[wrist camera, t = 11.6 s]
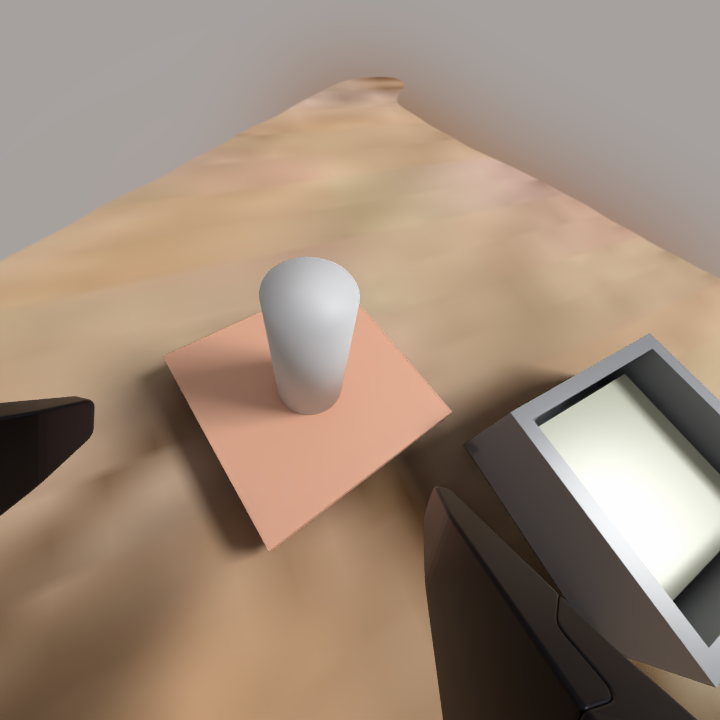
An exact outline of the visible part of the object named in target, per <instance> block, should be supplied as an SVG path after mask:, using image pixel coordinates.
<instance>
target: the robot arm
mask: <svg viewBox="0 0 720 720" xmlns="http://www.w3.org/2000/svg"><path fill="white" fill-rule="evenodd" d="M93 429H94V403H93V402H92V401H91V400H89V399H85V398H81V397H76V396H72V397H61V398H50V399H39V400H28V401H17V402H6V403H0V516H1V515H2V514H3V513H4V512H6V511H7V510H8V509H10V508H11V507H12V506H13V505H15V504H16V503H17V502H18V501H20V500H21V499H22V498H24V497H25V496H26V495H27V494H29V493H30V492H31V491H32V490H33V489H35V488H36V487H37V486H38V485H39V484H41V483H42V482H43V481H44V480H45V479H46V478H47V477H48V476H49V475H51V474H52V473H53V472H54V471H55V470H56V469H57V468H58V467H59V466H60V465H61V464H62V463H63V462H65V461H66V460H67V459H68V458H69V457H70V456H71V455H72V454H73V453H74V452H75V451H76V450H77V449H79V448H80V447H81V446H82V445H83V444H84V443H85V442H86V441H87V440H88V439H89V438H90V436H91V435H92V433H93ZM423 527H424V570H425V586H426V595H427V602H428V610H429V617H430V625H431V633H432V640H433V648H434V655H435V663H436V670H437V678H438V685H439V693H440V700H441V708H442V715H443V720H697V719H696V718H695V717H693V716H692V715H691V714H690V713H689V712H688V711H687V710H685V709H684V708H683V707H682V706H681V705H680V704H679V703H677V702H676V701H675V700H674V699H673V698H672V697H671V696H669V695H668V694H667V693H666V692H665V691H664V690H663V689H662V688H660V687H659V686H658V685H657V684H656V683H655V682H654V681H652V680H651V679H650V678H649V677H648V676H647V675H646V674H644V673H643V672H642V671H641V670H640V669H639V668H638V667H636V666H635V665H634V664H633V663H632V662H631V661H630V660H629V659H628V658H626V657H625V656H624V655H623V654H622V653H621V652H620V651H619V650H617V649H616V648H615V647H614V646H613V645H612V644H611V643H610V642H608V641H607V640H606V639H605V638H604V637H603V636H602V635H601V634H600V633H599V632H598V631H597V630H596V629H594V628H593V627H592V626H591V625H590V624H589V623H588V622H587V621H586V620H585V619H584V618H583V617H582V616H581V615H580V614H579V613H577V612H576V611H575V610H574V609H573V608H572V607H571V606H570V605H569V604H568V603H567V602H566V601H565V600H564V599H563V598H562V597H559V595H558V593H557V592H556V591H555V590H554V589H553V588H552V587H551V586H550V585H549V584H547V583H546V582H545V581H544V580H543V579H542V578H541V577H540V576H539V575H538V574H537V573H536V572H535V571H534V570H533V569H532V568H531V567H530V566H529V565H528V564H527V563H526V562H525V561H524V560H523V559H522V558H521V557H520V556H519V555H518V554H517V553H515V552H514V551H513V550H512V549H511V548H510V547H509V546H508V545H507V544H506V543H505V542H504V541H503V540H502V539H501V538H500V537H499V536H498V535H497V534H496V533H495V532H494V531H493V530H492V529H491V528H490V527H489V526H488V525H487V524H486V523H484V522H483V521H482V520H481V519H480V518H479V517H478V516H477V515H476V514H475V513H474V512H473V511H472V510H471V509H470V508H469V507H468V506H467V505H466V504H465V503H464V502H463V501H462V500H461V499H460V498H459V497H458V496H457V495H456V494H455V493H453V492H452V491H451V490H450V489H446V488H442V487H437V486H436V487H435V488H434V489H433V490H432V493H431V496H430V499H429V502H428V505H427V508H426V510H425V514H424V521H423Z"/></svg>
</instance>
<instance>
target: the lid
mask: <svg viewBox="0 0 720 720" xmlns="http://www.w3.org/2000/svg"><path fill="white" fill-rule="evenodd" d="M259 299H260V304H261V309H262V311H261V312H259V313H257V314H255V315H253V316H250V317H248V318H246V319H244V320H242V321H239V322H237V323H235V324H233V325H231V326H228V327H226V328H224V329H222V330H220V331H217V332H215V333H213V334H211V335H209V336H206V337H204V338H202V339H200V340H198V341H195V342H193V343H191V344H189V345H187V346H184V347H182V348H180V349H178V350H176V351H173V352H171V353H169V354H167V355H165V356H163V358H164V360H165V362H166V363H167V365H168V367H169V369H170V371H171V373H172V374H173V376H174V378H175V380H176V382H177V384H178V385H179V387H180V389H181V391H182V393H183V395H184V396H185V398H186V400H187V402H188V404H189V406H190V407H191V409H192V411H193V413H194V415H195V417H196V419H197V420H198V422H199V424H200V426H201V428H202V430H203V431H204V433H205V435H206V437H207V439H208V441H209V442H210V444H211V446H212V448H213V450H214V452H215V453H216V455H217V457H218V459H219V461H220V463H221V464H222V466H223V468H224V470H225V472H226V474H227V475H228V477H229V479H230V481H231V483H232V485H233V486H234V488H235V490H236V492H237V494H238V496H239V497H240V499H241V501H242V503H243V505H244V507H245V509H246V510H247V512H248V514H249V516H250V518H251V520H252V521H253V523H254V525H255V527H256V529H257V531H258V532H259V534H260V536H261V538H262V540H263V542H264V543H265V545H266V547H267V549H268V551H272V550H274V549H275V548H276V547H278V546H279V545H280V544H282V543H283V542H284V541H286V540H287V539H288V538H289V537H291V536H292V535H293V534H295V533H296V532H297V531H299V530H300V529H301V528H303V527H304V526H305V525H306V524H308V523H309V522H310V521H312V520H313V519H314V518H316V517H317V516H318V515H320V514H321V513H322V512H323V511H325V510H326V509H327V508H329V507H330V506H331V505H333V504H334V503H335V502H337V501H338V500H339V499H341V498H342V497H343V496H344V495H346V494H347V493H348V492H350V491H351V490H352V489H354V488H355V487H356V486H358V485H359V484H360V483H361V482H363V481H364V480H365V479H367V478H368V477H369V476H371V475H372V474H373V473H375V472H376V471H377V470H378V469H380V468H381V467H382V466H384V465H385V464H386V463H388V462H389V461H390V460H392V459H393V458H394V457H396V456H397V455H398V454H399V453H401V452H402V451H403V450H405V449H406V448H407V447H409V446H410V445H411V444H413V443H414V442H415V441H416V440H418V439H419V438H420V437H422V436H423V435H424V434H426V433H427V432H428V431H430V430H431V429H432V428H433V427H435V426H436V425H437V424H439V423H440V422H441V421H443V420H444V419H445V418H446V417H447V416H448V415H449V414H450V413H451V412H452V411H451V410H450V409H449V408H448V406H447V405H446V404H445V403H444V402H443V401H442V399H441V398H440V397H439V396H438V395H437V394H436V393H435V391H434V390H433V389H432V388H431V387H430V386H429V384H428V383H427V382H426V381H425V380H424V379H423V377H422V376H421V375H420V374H419V373H418V372H417V370H416V369H415V368H414V367H413V366H412V365H411V363H410V362H409V361H408V360H407V359H406V358H405V356H404V355H403V354H402V353H401V352H400V351H399V350H398V348H397V347H396V346H395V345H394V344H393V343H392V341H391V340H390V339H389V338H388V337H387V336H386V334H385V333H384V332H383V331H382V330H381V329H380V327H379V326H378V325H377V324H376V323H375V322H374V320H373V319H372V318H371V317H370V316H369V315H368V313H367V312H366V311H365V310H364V309H363V308H362V306H361V305H360V304H359V301H360V293H359V289H358V286H357V283H356V282H355V280H354V278H353V277H352V276H351V274H350V273H349V272H347V271H346V270H345V269H344V268H343V267H341V266H339V265H338V264H336V263H334V262H332V261H329V260H326V259H322V258H316V257H299V258H293V259H289V260H287V261H284V262H282V263H280V264H278V265H276V266H275V267H274V268H272V269H271V270H270V271H269V272H268V273H267V274H266V276H265V277H264V279H263V281H262V283H261V286H260V290H259Z"/></svg>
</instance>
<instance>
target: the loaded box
mask: <svg viewBox="0 0 720 720" xmlns="http://www.w3.org/2000/svg"><path fill="white" fill-rule="evenodd" d="M464 445H465V447H466V448H467V450H468V452H469V453H470V455H471V456H472V458H473V459H474V461H475V462H476V464H477V465H478V467H479V468H480V470H481V471H482V473H483V474H484V476H485V477H486V479H487V480H488V482H489V483H490V485H491V486H492V488H493V489H494V491H495V493H496V494H497V496H498V497H499V499H500V500H501V502H502V503H503V505H504V506H505V508H506V509H507V511H508V512H509V514H510V515H511V517H512V518H513V520H514V521H515V523H516V524H517V526H518V527H519V529H520V530H521V532H522V533H523V535H524V537H525V538H526V540H527V541H528V543H529V544H530V546H531V547H532V549H533V550H534V552H535V553H536V555H537V556H538V558H539V559H540V561H541V562H542V564H543V565H544V567H545V568H546V570H547V571H548V573H549V574H550V576H551V578H552V579H553V581H554V582H555V584H556V585H557V587H558V588H559V590H560V591H561V593H562V594H563V596H564V597H565V599H566V600H567V602H568V603H569V605H570V606H571V607H572V608H573V609H574V610H575V611H576V612H577V613H579V614H580V615H581V616H582V617H583V618H584V619H585V620H586V621H587V622H588V623H589V624H590V625H591V626H592V627H593V628H594V629H596V630H597V631H598V632H599V633H600V634H601V635H602V636H603V637H604V638H605V639H606V640H607V641H608V642H610V643H611V644H612V645H613V646H614V647H615V648H616V649H617V650H619V651H620V652H621V653H622V654H623V655H624V656H625V657H627V658H630V659H633V660H636V661H639V662H642V663H645V664H648V665H651V666H654V667H657V668H660V669H663V670H665V671H668V672H671V673H674V674H677V675H680V676H683V677H686V678H689V679H692V680H695V681H698V682H701V683H704V684H706V685H709V686H712V687H715V688H717V686H718V685H719V684H720V401H719V400H718V399H717V398H716V397H715V396H714V395H713V394H712V393H711V392H710V391H709V390H708V389H707V388H706V387H705V386H704V385H703V384H702V383H701V382H700V381H699V380H698V379H697V378H695V377H694V376H693V375H692V374H691V373H690V372H689V371H688V370H687V369H686V368H685V367H684V366H683V365H682V364H681V363H680V362H679V361H678V360H677V359H676V358H675V357H674V356H673V355H672V354H671V353H670V352H669V351H668V350H667V349H665V348H664V347H663V346H662V345H661V344H660V343H659V342H658V341H657V340H656V339H655V338H654V337H653V336H652V335H651V334H650V333H649V334H647V335H646V336H644V337H642V338H640V339H639V340H637V341H635V342H633V343H632V344H630V345H628V346H626V347H625V348H623V349H621V350H619V351H618V352H616V353H614V354H612V355H610V356H609V357H607V358H605V359H603V360H602V361H600V362H598V363H596V364H595V365H593V366H591V367H589V368H588V369H586V370H584V371H582V372H581V373H579V374H577V375H575V376H573V377H572V378H570V379H568V380H566V381H565V382H563V383H561V384H559V385H558V386H556V387H554V388H552V389H551V390H549V391H547V392H545V393H543V394H542V395H540V396H538V397H536V398H535V399H533V400H531V401H529V402H528V403H526V404H524V405H522V406H521V407H519V408H517V409H515V410H514V411H512V412H510V413H509V414H507V415H506V416H504V417H503V418H501V419H500V420H498V421H497V422H495V423H494V424H492V425H491V426H489V427H488V428H487V429H485V430H484V431H482V432H481V433H479V434H478V435H476V436H475V437H473V438H472V439H470V440H469V441H467V442H466V443H464Z"/></svg>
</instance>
